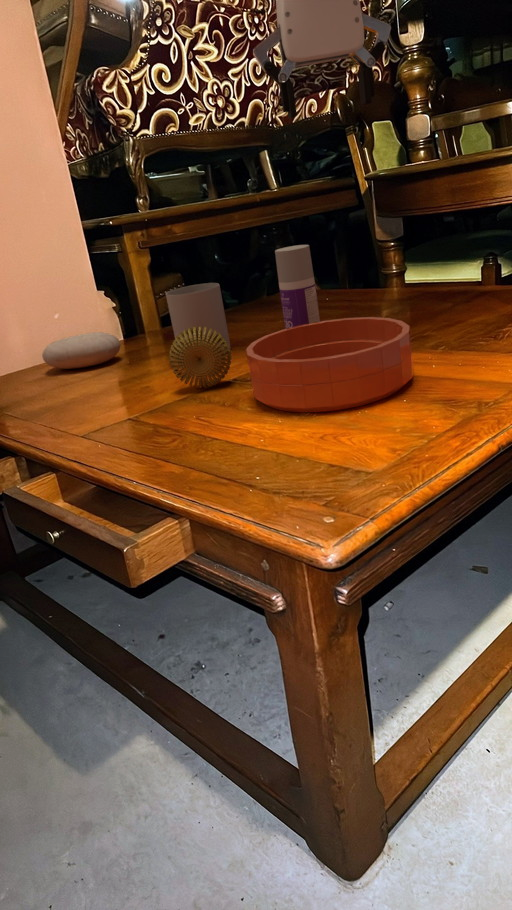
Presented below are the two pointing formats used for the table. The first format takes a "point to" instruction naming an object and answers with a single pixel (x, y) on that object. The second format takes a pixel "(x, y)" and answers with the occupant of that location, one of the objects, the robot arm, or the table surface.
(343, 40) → the robot arm
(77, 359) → the decorative stone
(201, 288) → the cup
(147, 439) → the table surface
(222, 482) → the table surface
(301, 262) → the container
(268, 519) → the table surface
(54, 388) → the table surface
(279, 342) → the bowl
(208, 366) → the sculpture
